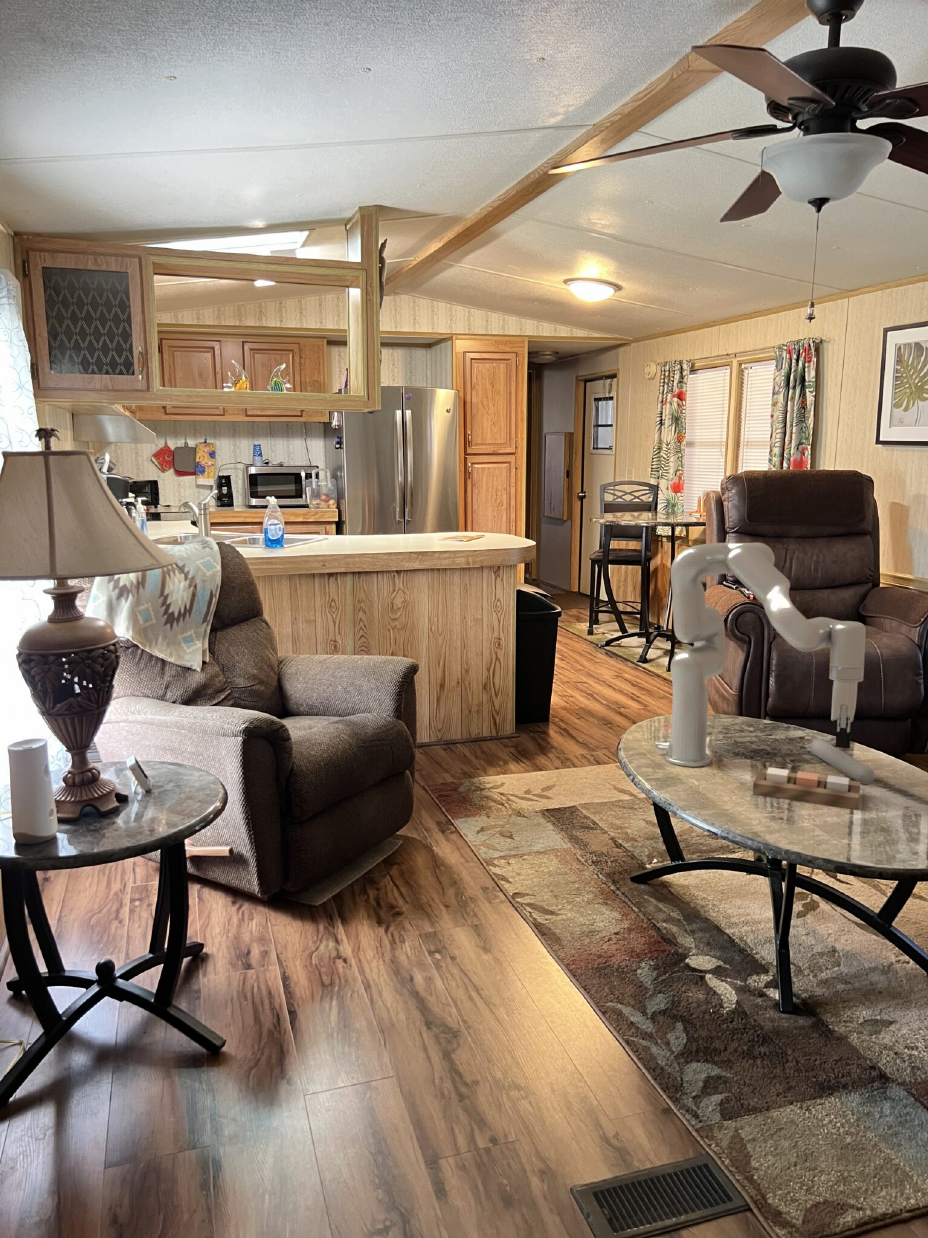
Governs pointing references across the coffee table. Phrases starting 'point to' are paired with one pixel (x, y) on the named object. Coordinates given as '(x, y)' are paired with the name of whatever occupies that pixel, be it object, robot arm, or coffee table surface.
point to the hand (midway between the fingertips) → (842, 747)
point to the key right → (837, 783)
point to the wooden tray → (807, 791)
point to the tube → (842, 761)
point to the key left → (777, 775)
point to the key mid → (807, 779)
